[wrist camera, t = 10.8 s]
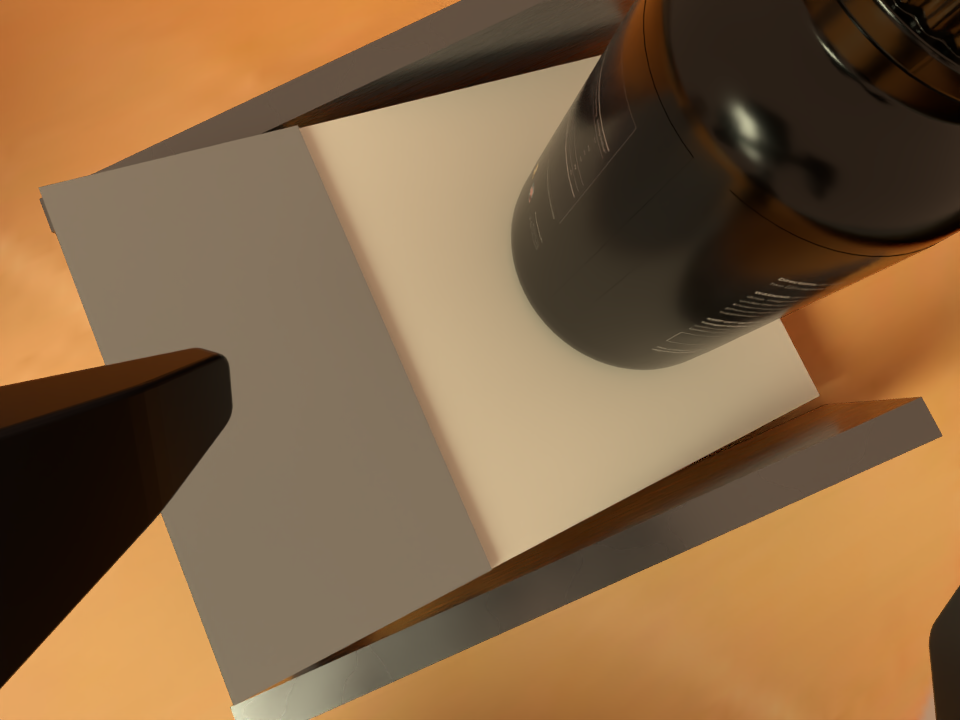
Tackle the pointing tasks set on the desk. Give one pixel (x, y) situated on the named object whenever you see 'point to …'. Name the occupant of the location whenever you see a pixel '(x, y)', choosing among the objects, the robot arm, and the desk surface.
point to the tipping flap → (381, 365)
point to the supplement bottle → (739, 170)
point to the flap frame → (626, 524)
